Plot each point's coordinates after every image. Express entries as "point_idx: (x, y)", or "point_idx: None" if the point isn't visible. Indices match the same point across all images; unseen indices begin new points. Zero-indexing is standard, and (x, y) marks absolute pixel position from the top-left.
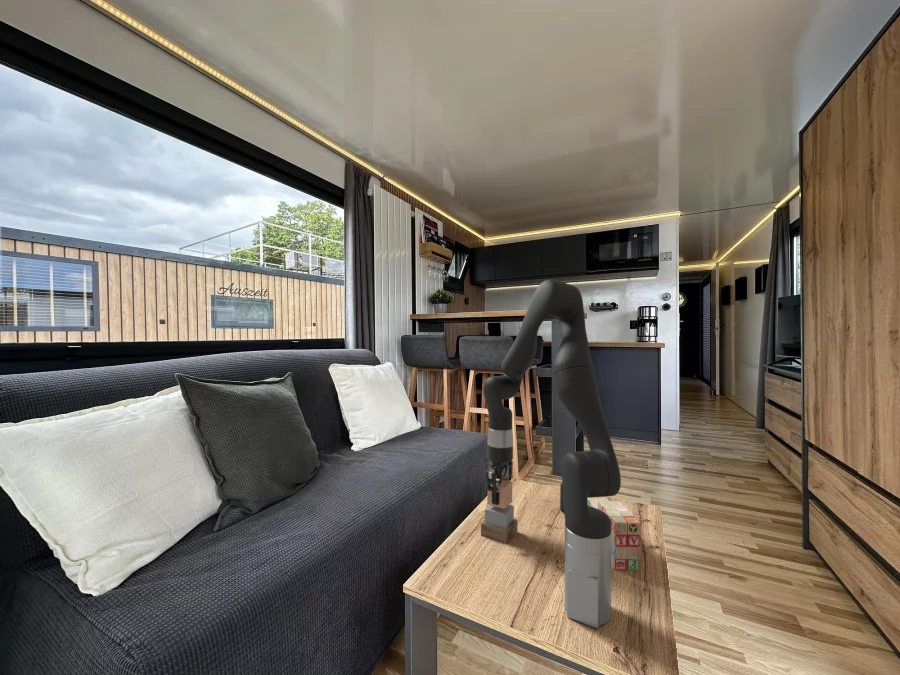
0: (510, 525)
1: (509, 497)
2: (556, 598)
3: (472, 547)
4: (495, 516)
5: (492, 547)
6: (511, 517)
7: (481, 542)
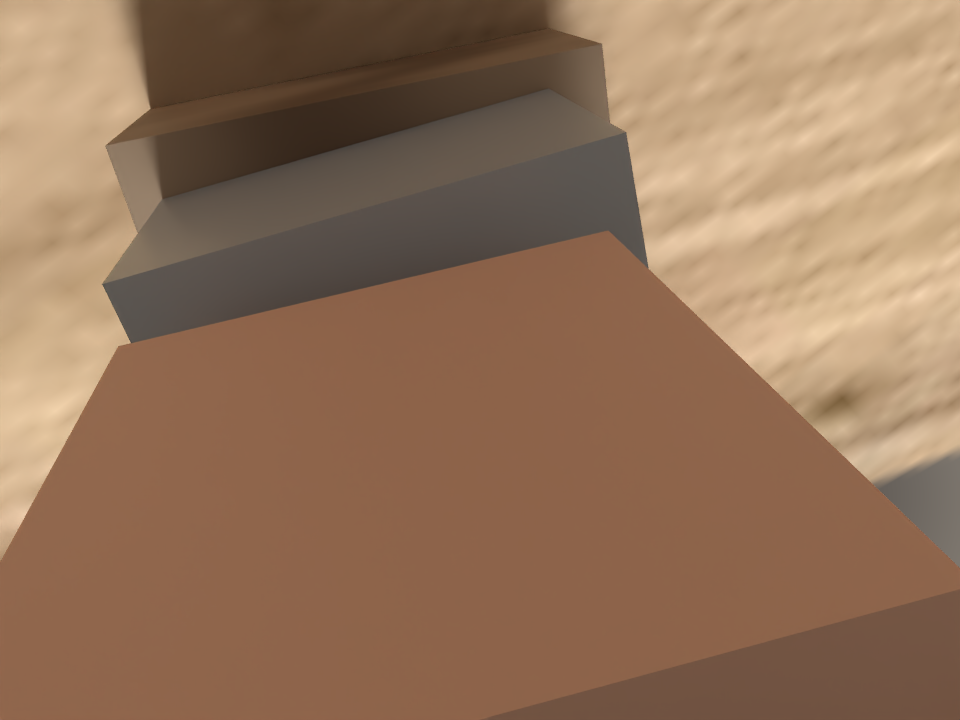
0: (397, 101)
1: (304, 384)
2: None
3: (858, 273)
4: None
5: (730, 109)
6: (274, 185)
7: (713, 274)
